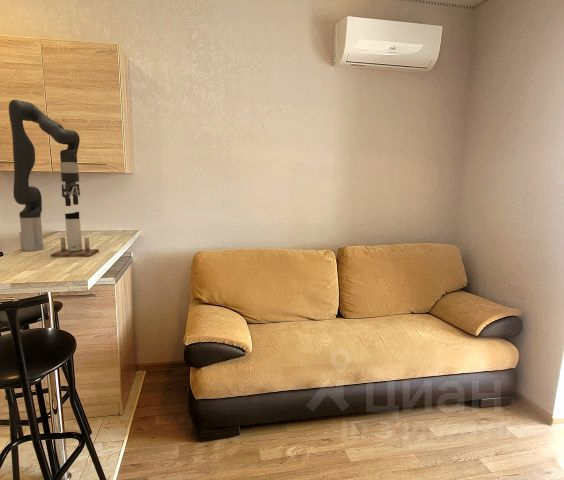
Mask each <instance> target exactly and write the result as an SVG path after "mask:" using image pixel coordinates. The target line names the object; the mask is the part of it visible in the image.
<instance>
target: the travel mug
mask: <svg viewBox="0 0 564 480" xmlns="http://www.w3.org/2000/svg"><path fill="white" fill-rule="evenodd" d="M64 216H65V220H64V221H65V230H66V231H65V232H66V243H67V249H68V252H71V253H74V252H81V251H82V249H83V244H82V243H83V242H82V241H83V240H82V232H81V231H82V229H81V219H80V211H75V212H69V213H64Z"/></svg>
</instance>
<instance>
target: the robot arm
mask: <svg viewBox="0 0 564 480" xmlns="http://www.w3.org/2000/svg"><path fill="white" fill-rule="evenodd" d="M8 116H9V122H10V127H11V138H12V156H13V173H14V174H13V175H14V176H13V179H14V180H13V199H14V201H15V202H16V203H17V204H18V205H22V206H23V205H24V208H23V210H21V211H19V214H18V215H19V221H20V222H19V223H20V232H19V233H18V234H19V244H20V251H24V252H31V251H34V252H35V251H40V250H43V249H44V248H45V247H44V238H43V237H44V236H43V228H42V227H43V226H42V216H41V215H42V214H41V213H42V211H43V205H42V202H43V201H42V194H41V191H40V189H39V188H38V187H36V186H30V185H29V179H30V178H29V177H30V175H31V172H32V170H33V168H34V166H35V163H36V148H35V146H34V144H33V142H32V140H31V139H30V138H29V135H28V134H27V133H26V131H25V130H26V129H25V127H24V121H26V122H32V123H35V124H37V125H38V126H39V128H40V129H41V130H42V131H43V133H46V134H47V135H49V136H50V137H51V138H52V139H53V140H54V141H55V142H56V143H58V144H60V145H67V146H66V147H67V148H66V149H62V150H60V151H59V153H60V154H59V156H60V178H61V182H63V184H61V197H62V198H64V201H65V207H71V206H72V204H73V206H75V205H76V206H78V205H79V197H80V196H81V190H80V183H79V182H80V171H79V165H78V164H79V163H78V150H79V146H80V141H81V139H80V135H79V134H78V132H77V131H76V130H73V129H65V128H64V127H63V125H61V124H60V123H59V122H57V121H55V120H53V119H52V118H50V117H49V116H47V115H46V114H45V113H44V112H43V111H41V110H40V108H38V107H37V106H36V105H35V104H33V103H31V102H28V101H24V100H19V99H12V100H11V101H10V102H9V104H8ZM71 197H72V200H71Z"/></svg>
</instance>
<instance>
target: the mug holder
mask: <svg viewBox="0 0 564 480" xmlns="http://www.w3.org/2000/svg"><path fill="white" fill-rule="evenodd" d="M59 240H60V249H59V250H58V251H55V252H53V253H51V254H50V258H83V257H85V258H87V257H88V258H89V257H92V256H95V255H96V254H98V253H100V249H99V248H91V247H90V237H87V236H85V237H84V248H82V251H81V252H74V253H71V252H68V248H67V247H66V237H60V239H59Z"/></svg>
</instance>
